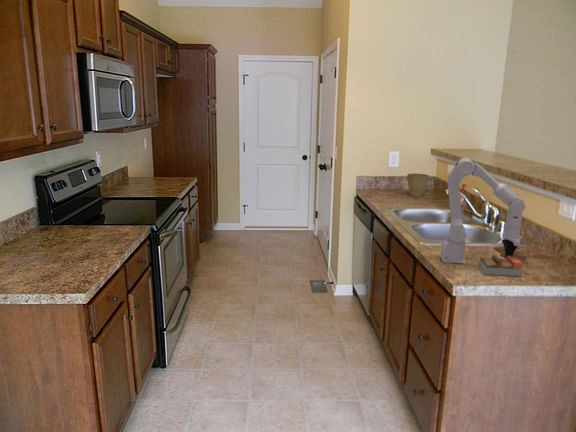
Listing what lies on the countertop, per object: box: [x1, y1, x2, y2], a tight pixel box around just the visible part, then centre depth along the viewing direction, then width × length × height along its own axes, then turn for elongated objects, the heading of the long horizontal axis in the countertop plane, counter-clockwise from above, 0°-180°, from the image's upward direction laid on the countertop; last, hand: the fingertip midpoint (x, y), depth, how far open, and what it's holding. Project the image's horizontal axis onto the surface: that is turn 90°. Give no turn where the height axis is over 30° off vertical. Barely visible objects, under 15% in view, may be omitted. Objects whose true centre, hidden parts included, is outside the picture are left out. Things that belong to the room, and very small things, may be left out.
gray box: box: [477, 259, 523, 278], centre depth 184 cm, size 14×9×3 cm, turn 83°
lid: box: [479, 254, 513, 269], centre depth 183 cm, size 10×9×2 cm
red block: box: [505, 256, 523, 270], centre depth 183 cm, size 3×9×3 cm, turn 173°
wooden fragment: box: [492, 245, 530, 266], centre depth 205 cm, size 26×11×1 cm, turn 177°
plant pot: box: [407, 172, 430, 198], centre depth 333 cm, size 15×15×16 cm
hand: (508, 257), depth 190 cm, fingers closed
